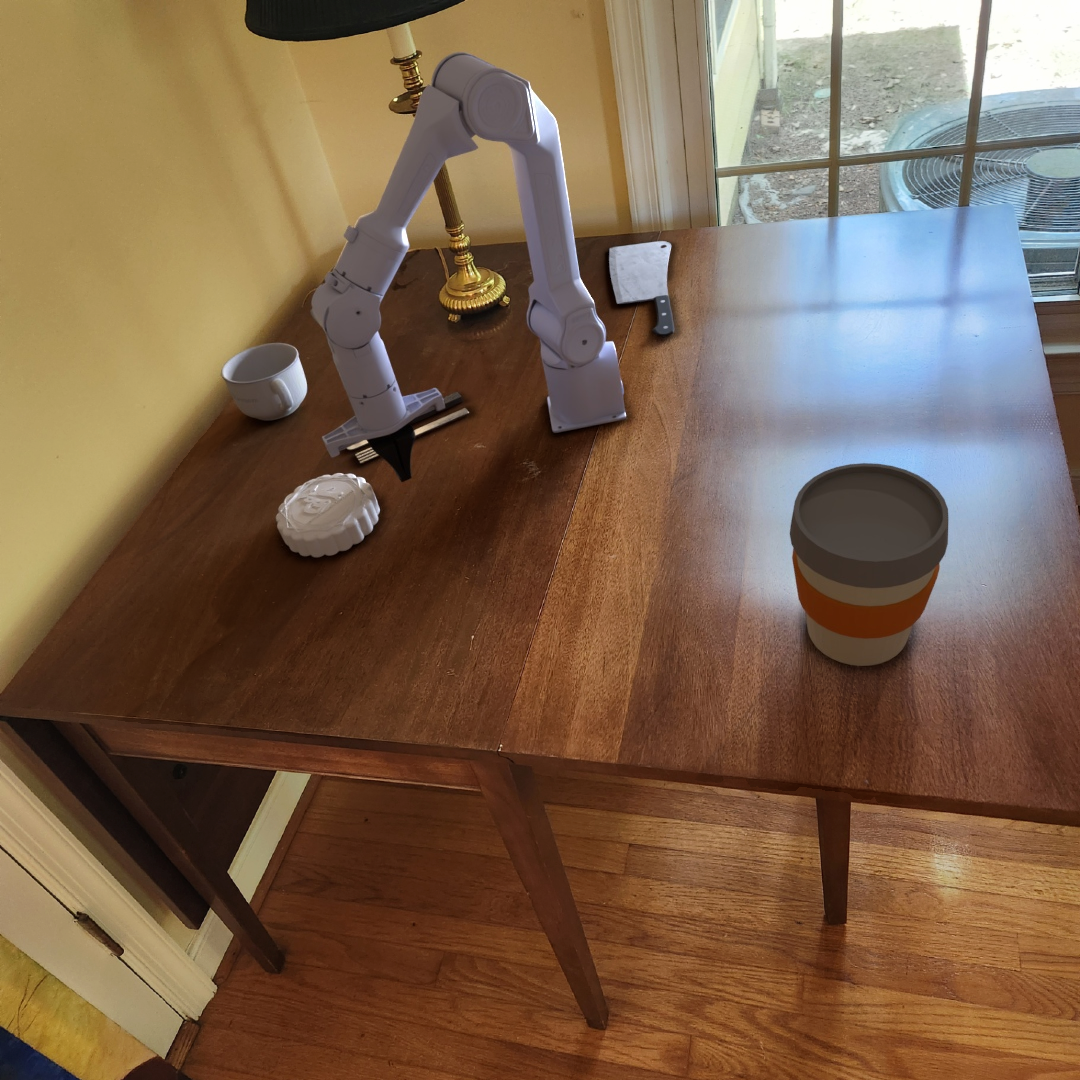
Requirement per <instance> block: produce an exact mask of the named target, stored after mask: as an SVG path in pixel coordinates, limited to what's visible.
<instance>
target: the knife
mask: <svg viewBox="0 0 1080 1080" xmlns="http://www.w3.org/2000/svg"><path fill="white" fill-rule="evenodd" d="M442 398H443V401H444V404H445V408H444V409H442V410H440V411H437V410H436V409H434V410H432V411H430V412H427V413H425V414H423V415H420V416H418V417H416V418H414V419H413V420H412V421H410V424H411V425H413V424H415V423H417V422H420V421H422V420H425V419H427V418H429V417H432V416H434V415H437V414H439V413H441V412H443V411H446V410H448V409H450V408H452V407H454V406H457V405H459V404H461V403H463V402H464V401H463V397H462V395H461V394H460V393H459V392H458V391H454V392H453V393H451V394H448V395H446V396H443V397H442ZM367 445H370V444H369V443H368V441H367V440H364V441H361V442H359V443H357V444H354V445H352V446H350V447H348V448H346V450H347V451H350V452H352V451H356V450H359V449H361V448H364V447H365V446H367Z"/></svg>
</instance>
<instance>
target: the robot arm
mask: <svg viewBox="0 0 1080 1080" xmlns="http://www.w3.org/2000/svg"><path fill="white" fill-rule="evenodd" d="M474 136H477V137H478V138H480V139H483V140H486V141H491V142H499V143H505V145H507V146H508V148H509V153H510V158H511V159H510V160H511V164H512V169H513V174H514V180H515V185H516V190H517V196H518V202H519V206H520V213H521V218H522V222H523V223H522V224H523V228H524V234H525V240H526V246H527V250H528V255H529V261H530V265H531V272H532V276H533V282H532V283H531V284H530V285H529V287H528V289H527V291H528V297H529V303H528V308H527V312H526V324H527V327H528V329H529V330H530V332H531V333H532V334H533V335H535V336H536V337H537V338H539V343H540V359H541V362H542V367H543V373H544V377H545V382H546V383H545V384H546V388H547V392H548V396H547V397H546V401H547V406H548V413H549V418H550V424H551V430H552V432H553V433H554V434H557V433H562V432H568V431H573V430H579V429H584V428H589V427H593V426H594V427H595V426H598V425H603V424H608V423H613V422H618V421H619V422H620V421H624V420H626V418H627V414H626V408H625V401H624V395H625V389H624V385H623V381H622V379H621V378H622V377H621V371H620V365H619V360H618V359H619V358H618V355H617V351H616V346H615V343H614V341H613V340H612V341H606V339H607V331H606V326H605V324H604V323H603V321H602V320H601V319H600V317H599V316H598V314H597V311H596V305H595V301H594V299H593V298H592V297H591V294H590V293H589V291H588V289H587V288H586V286H585V284H584V283H583V280H582V279H581V275H580V270H579V263H578V256H577V248H576V242H575V236H574V234H575V233H574V228H573V221H572V214H571V207H570V202H569V201H570V200H569V193H568V188H567V181H566V174H565V173H566V172H565V168H564V167H565V165H564V160H563V153H562V147H561V140H560V134H559V126H558V123H557V119H556V117H555V116H554V115H553V113H552V112H551V111H550V110H549V109H548V107H547V106H546V105H545V104H544V102H543V101H542V100H541V99H540V98H539V97H538V95H537V94H536V93H535V92H534V90H533V89H532V87H531V84H530V81H529V80H527V79H525V78H523V77H521V76H519V75H517V74H516V73H515V74H514V73H513V72H511V71H509V70H507V69H504V68H501V67H497V66H495V65H493V64H491V63H489V62H488V61H486V60H483V59H481V58H479V57H477V56H475V55H474V54H471V53H468V52H464V51H457V52H452V53H450V54H448V55H446V56H445V57H443V58H442V59H441V60H440V61H439V62H438V64H437V65H436V66H435V68H434V70H433V73H432V76H431V81H430V84H427V85H426V87H425V88H424V89H423V91H422V92H421V94H420V97H419V100H418V104H417V109H416V112H415V116H414V119H413V122H412V125H411V127H410V129H409V132H408V134H407V136H406V139H405V141H404V143H403V145H402V148H401V151H400V152H399V155H398V157H397V159H396V162H395V165H394V167H393V168H392V171H391V173H390V176H389V178H388V181H387V183H386V185H385V187H384V190H383V193H382V195H381V197H380V198H379V202H378V204H377V206H376V209H375V210H373V211H371V212H367V213H365V214H362V215H360V216H358V218H357V220H356V222H355V224H354V226H353V225H347V227H346V229H345V231H344V234H343V237H344V239H346V242H345V244H344V246H343V248H342V251H341V253H340V255H339V257H338V259H337V261H336V263H335V265H334V267H333V269H332V271H327V273H326V275H325V276H324V283H321V284H320V285H319V286H318V287H317V288H316V289H315V291H314V292H313V295H312V297H311V303H310V306H311V307H312V308H311V309H310V315H311V316H312V318H313V319H314V321H315V322H316V323H317V324H318V325H319V326H320V327H321V328H322V330H323V332H325V336H326V337H325V338H326V340H327V343H328V347H329V350H330V352H331V353H332V360H333V362H334V365H335V368H336V370H337V372H338V374H339V378H340V380H341V383H342V386H343V389H344V390H345V393H346V395H347V398H348V401H349V403H350V406H351V408H352V411H353V413H354V416H353V417H351V418H350V419H348V420H347V421H346V422H344V423H343V424H341V425H340V426H338V427H337V428H336V429H334V430H332V431H330V432H329V433H327V434H325V435H322V436H321V439H322V441H323V444H324V446H325V448H326V451H327V452H328V454H329V456H330V458H335V457H337V456H339V455H340V454H341V451H343V450H345V449H347V448H348V447H350V446H352V445H354V444H357V443H359V442H361V441H364V440H367V441H368V443H369V444H368V445H369V446H370V448H371V447H372V449H373V450H374V451H375V452H376V453H377V454H378V455H379V456H380V458H381V459H383V460H384V461H385V462H386V463H387V464H389V466H390V467H391V468H392V469H393V470H394V472H395V475H396V476H397V478H398V480H399V481H400V482H401V483H404V482H407V481H408V480H411V479H412V478H413V476H412V466H411V465H412V463H411V462H412V450H413V447H414V442H415V440H416V438H415V431H414V430H415V428H414V427H413V426H412V424H410V421H412V420H413V419H414V418H416V417H418V416H420V415H423V414H425V413H427V412H430V411H432V410H434V409H436V410H437V411H440V410H442V409H444V408H445V404H444V401H443V398H444V397H443V395H442V393H441V392H440V391H439V389H438V388H436V387H433V388H431V389H428V390H425V391H421V392H417V393H412V394H409V395H402V393H401V390H400V387H399V384H398V381H397V378H396V375H395V373H394V370H393V367H392V364H391V361H390V358H389V354H388V353H387V352H388V351H387V349H386V346H385V344H384V343H385V342H384V341H383V339H381V336H380V332H379V330H380V329H381V325H382V316H381V312H380V307H381V304H382V301H383V299H384V297H385V295H386V293H387V291H388V289H389V287H390V285H391V284H392V281H393V279H394V277H395V275H396V274H397V271H398V270H399V268H400V266H401V264H402V262H403V260H404V258H405V256H406V254H407V253H408V251H409V249H410V242H409V239H408V234H407V227H408V225H409V223H410V222H411V221H412V218H413V217H414V215H415V213H416V211H417V209H418V208H419V206H420V204H421V203H422V201H423V199H424V198H425V196H426V194H427V193H428V191H429V189H430V188H431V186H432V184H433V182H434V181H435V179H436V177H437V176H438V174H439V172H440V170H441V168H442V167H443V166H444V164H445V162H446V161H447V160H449V159H451V158H454V157H457V156H460V155H465V154H468V153H470V152H474V151H477V149H479V146H478V144H477V143H476V142H475V141H474V139H473V137H474Z"/></svg>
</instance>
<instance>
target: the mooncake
mask: <svg viewBox="0 0 1080 1080" xmlns="http://www.w3.org/2000/svg"><path fill="white" fill-rule="evenodd" d="M277 510H278V513H277V514H276V515H275V521H276V523H277V525H276V529H277V530H278V532H279V535H280V536H281V538H282V540H283V541H284V543H285V545H287V546H288V548H289V550H290V551H291V552H294V553H298V554H299V555H300V556H302V557H309V556H311V557H312V558H321V557H323V556H328V557H329V556H330V557H331V556H334V555H336V554H338V553H339V552H345V551H348V550H349V549H351V548H352V546H353V545H357V544H359V543H361V542H362V541H364V538H365V536H368V535H370V534H371V533H372V531H373V530H374V526H375V525H376V524H377V523H378V522H379V514H380V511H381V509H380V506H379V503H378V499H377V497H376V494H375V492H374V490H373V486H372V485H371V484H370V483H369V482H366V479H365V478H364V477H361V476H356V474H354V473H345V474H344V473H341V472H337V473H334V474H332V475H330V474H323V475H321V476H318V477H316V478H312V479H309V480H308V481H306V482H304V483H303V484H302V485H298V486H297V487H295V488H294V489H293V492H291V493H289V494H287V496H285V498H284V500H283V502H282V503H281V504H280V505H279V506H278V509H277Z"/></svg>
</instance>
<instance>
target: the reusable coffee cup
mask: <svg viewBox="0 0 1080 1080" xmlns="http://www.w3.org/2000/svg"><path fill="white" fill-rule="evenodd" d="M793 504H794V505H793V509H792V515H791V520H790V521H791V522H790V529H789V539H790V543H791V546H792V555H791V560H792V566H793V567H792V568H793V572H794V573H793V574H794V577H795V578H794V579H795V586H796V591H797V598H798V601H799V603H800V606H801V607H802V609H803V611H804V614H805V621H806V627H807V632H808V633H807V634H808V637H809V638H810V640H811V642H812V643H813V645H814V646H815V647H816V649H817V650H818V651H820V652H821V653H822V654H823V655H825V656H826V657H828V658H829V659H832V660H834V661H837V662H839V663H842V664H846V665H850V666H857V667H865V666H869V667H870V666H875V665H879V664H883V663H885V662H888V661H890V660H892V659H893V658H894V657H896V656H898V654H900V653H901V652H902V651H903V649H904V647H905V646H906V644H907V642H908V639H909V637H910V635H911V632H912V629H913V627H914V625H915V623H916V622H917V621H918V620H919V619H921V616H922V615H923V613H924V612H925V610H926V607H927V605H928V602H929V600H930V597H931V595H932V592H933V590H934V587H935V585H936V582H937V579H938V576H939V572H940V569H941V568H940V567H941V566H940V563H941V561H942V560H943V558H944V556H945V555H946V552H947V548H948V545H949V508H948V505H947V502H946V500H945V498H944V496H943V495H942V494H941V492H940V491H939V490H938V488H936V487H935V485H933V484H932V483H931V482H929V481H928V480H926V479H925V478H923V476H920V475H918V474H917V473H914V472H912V471H910V470H907V469H904V468H901V467H897V466H894V465H889V464H882V463H873V462H872V463H870V462H869V463H868V462H866V463H865V462H861V463H850V464H843V465H840V466H836V467H833V468H830V469H827V470H824V471H822V472H821V473H819V474H816V475H814V476H813V477H812V478H810V480H808V481H807V482H805V484H804V485H803V486H802V487H801V488H800V490H799V491H798V493H797V496H796V497H795V500H794V503H793Z"/></svg>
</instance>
